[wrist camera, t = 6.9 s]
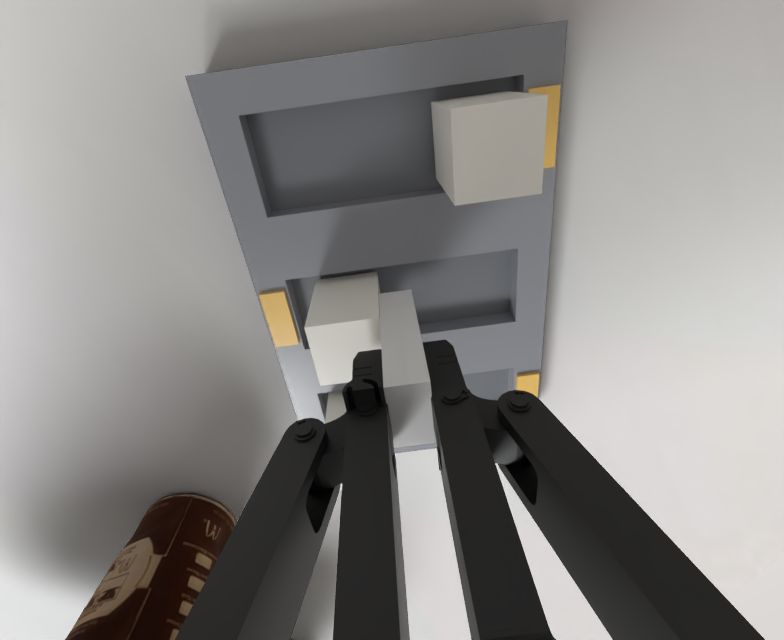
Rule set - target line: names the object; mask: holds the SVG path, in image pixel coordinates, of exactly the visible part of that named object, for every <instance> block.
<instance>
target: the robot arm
mask: <svg viewBox="0 0 784 640" xmlns="http://www.w3.org/2000/svg"><path fill="white" fill-rule="evenodd" d="M379 311H380V331H381V349H376V350H369V351H361V352H358V353H357V355H356V356H355V358H354V359H353V370H352V380H351V381H350V382H348V383H347V384H346V385H345V386H344V388H343V391H342V394H343V398H344V403H345V407H346V412H345V414H344V415H342V416H341V417H339V418H337V419H335V420H333V421H331V422H328V423H325V424H324V423H323V422H322V421H320V420H319V419H316V418H304V419H302V420H299V421H296V422H295V423H294V424H292V425H291V426H290V427H289V428H288V429H287V430H286V432H285V434H284V435H283V437H282V439H281V441H280V443H279V445H278V447H277V449H276V450H275V452H274V454H273V456H272V458H271V460H270V462H269V464H268V465H267V467H266V469H265V471H264V473H263V475H262V477H261V479H260V480H259V482H258V484H257V486H256V488H255V490H254V492H253V494H252V495H251V497H250V499H249V501H248V503H247V505H246V507H245V509H244V510H243V512H242V514H241V516H240V518H239V520H238V522H237V524H236V525H235V527H234V529H233V531H232V533H231V535H230V537H229V538H228V540H227V542H226V544H225V546H224V548H223V550H222V552H221V553H220V555H219V557H218V559H217V561H216V563H215V565H214V567H213V568H212V570H211V572H210V574H209V576H208V578H207V580H206V582H205V583H204V585H203V587H202V589H201V591H200V593H199V595H198V597H197V598H196V600H195V602H194V604H193V606H192V608H191V610H190V612H189V613H188V615H187V617H186V619H185V621H184V623H183V625H182V627H181V628H180V630H179V632H178V634H177V636H176V638H175V640H290V637H291V634H292V631H293V628H294V625H295V622H296V619H297V616H298V613H299V610H300V607H301V604H302V601H303V598H304V595H305V592H306V589H307V586H308V583H309V580H310V577H311V574H312V571H313V568H314V565H315V562H316V559H317V556H318V553H319V550H320V547H321V544H322V541H323V538H324V535H325V532H326V529H327V526H328V523H329V520H330V517H331V515H332V512H333V509H334V506H335V503H336V500H337V497H338V494H339V491H340V486H341V484H342V497H341V514H340V530H339V547H338V564H337V581H336V598H335V614H334V631H333V640H410V638H409V625H408V612H407V599H406V586H405V573H404V560H403V547H402V534H401V521H400V508H399V495H398V482H397V469H396V459H395V453H394V448H398V447H406V446H413V445H421V444H429V443H437V452H438V462H439V470H441V475H442V481H443V486H444V491H445V497H446V502H447V508H448V513H449V519H450V524H451V530H452V535H453V540H454V546H455V551H456V557H457V562H458V568H459V573H460V579H461V584H462V590H463V595H464V600H465V606H466V611H467V617H468V622H469V628H470V633H471V639H472V640H556V639H555V638H554V637H553V636H552V634H551V632H550V629H549V626H548V624H547V620H546V617H545V614H544V611H543V608H542V605H541V602H540V599H539V596H538V593H537V590H536V587H535V584H534V581H533V578H532V575H531V572H530V569H529V566H528V563H527V560H526V556H525V553H524V550H523V547H522V544H521V541H520V538H519V535H518V532H517V529H516V526H515V523H514V520H513V517H512V514H511V511H510V508H509V505H508V502H507V499H506V496H505V492H504V489H503V486H502V483H501V480H500V477H499V474H498V471H497V468H496V465H495V463H498V465H499V468H500V469H501V471H502V472H503V474H504V475H505V477H506V478H507V480H508V481H509V483H510V484H511V486H512V487H513V489H514V490H515V492H516V493H517V495H518V496H519V498H520V499H521V501H522V503H523V504H524V506H525V507H526V509H527V510H528V512H529V513H530V515H531V516H532V518H533V519H534V521H535V522H536V524H537V525H538V527H539V528H540V530H541V531H542V533H543V534H544V536H545V537H546V539H547V540H548V542H549V543H550V545H551V546H552V548H553V549H554V551H555V552H556V554H557V556H558V557H559V559H560V560H561V562H562V563H563V565H564V566H565V568H566V569H567V571H568V572H569V574H570V575H571V577H572V578H573V580H574V581H575V583H576V584H577V586H578V587H579V589H580V590H581V592H582V593H583V595H584V596H585V598H586V599H587V601H588V602H589V604H590V606H591V607H592V609H593V610H594V612H595V613H596V615H597V616H598V618H599V619H600V621H601V622H602V624H603V625H604V627H605V628H606V630H607V631H608V633H609V634H610V636H611V637H612V639H613V640H765V639H764V638H763V637H762V636H761V635H760V634H759V633H758V632H757V631H756V630H755V629H754V628H753V626H751V624H750V623H749V622H748V621H747V620H746V619H745V618H744V617H743V616H742V615H741V614H740V613H739V612H738V610H737V609H736V608H735V607H734V606H733V605H732V604H731V603H730V602H729V601H728V600H727V599H726V598H725V597H724V596H723V595H722V593H721V592H720V591H719V590H718V589H717V588H716V587H715V586H714V585H713V584H712V583H711V582H710V581H709V580H708V579H707V577H706V576H705V575H704V574H703V573H702V572H701V571H700V570H699V569H698V568H697V567H696V566H695V565H694V564H693V563H692V562H691V560H690V559H689V558H688V557H687V556H686V555H685V554H684V553H683V552H682V551H681V550H680V549H679V548H678V547H677V546H676V544H675V543H674V542H673V541H672V540H671V539H670V538H669V537H668V536H667V535H666V534H665V533H664V532H663V531H662V530H661V528H660V527H659V526H658V525H657V524H656V523H655V522H654V521H653V520H652V519H651V518H650V517H649V516H648V515H647V514H646V513H645V511H644V510H643V509H642V508H641V507H640V506H639V505H638V504H637V503H636V502H635V501H634V500H633V499H632V498H631V497H630V495H629V494H628V493H627V492H626V491H625V490H624V489H623V488H622V487H621V486H620V485H619V484H618V483H617V482H616V481H615V480H614V478H613V477H612V476H611V475H610V474H609V473H608V472H607V471H606V470H605V469H604V468H603V467H602V466H601V465H600V464H599V462H598V461H597V460H596V459H595V458H594V457H593V456H592V455H591V454H590V453H589V452H588V451H587V450H586V449H585V448H584V447H583V445H582V444H581V443H580V442H579V441H578V440H577V439H576V438H575V437H574V436H573V435H572V434H571V433H570V432H569V431H568V429H567V428H566V427H565V426H564V425H563V424H562V423H561V422H560V421H559V420H558V419H557V418H556V417H555V416H554V415H553V414H552V412H551V411H550V410H549V409H548V408H547V407H546V406H545V405H544V404H543V403H542V402H541V401H540V400H539V399H538V398H537V397H536V396H535V395H533V394H532V393H529V392H526V391H522V390H512V391H508V392H506V393H504V394H502V395H501V396H500V397H499V399H498V400H488V399H483V398H480V397H477V396H475V395H474V394H472V393H471V392H470V390H469V389H467V387H466V384H465V381H464V378H463V375H462V372H461V368H460V365H459V363H458V359H457V356H456V353H455V350H454V347H453V345H452V344H450V343H449V342H448V341H447V340H446V339H445V340H438V341H430V342H422V338H421V334H420V329H419V324H418V319H417V314H416V309H415V305H414V300H413V295H412V290H411V289H410V290H403V291H395V292H388V293H381V294H379Z"/></svg>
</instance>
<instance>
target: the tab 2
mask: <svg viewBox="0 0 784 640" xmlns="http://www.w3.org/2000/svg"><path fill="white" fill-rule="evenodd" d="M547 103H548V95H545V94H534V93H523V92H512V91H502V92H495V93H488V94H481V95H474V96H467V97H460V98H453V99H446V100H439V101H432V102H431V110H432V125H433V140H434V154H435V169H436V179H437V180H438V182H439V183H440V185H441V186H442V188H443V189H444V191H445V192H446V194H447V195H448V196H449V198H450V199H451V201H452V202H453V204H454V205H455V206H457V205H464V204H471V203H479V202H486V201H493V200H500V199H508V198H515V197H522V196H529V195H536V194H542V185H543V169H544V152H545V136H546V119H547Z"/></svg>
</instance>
